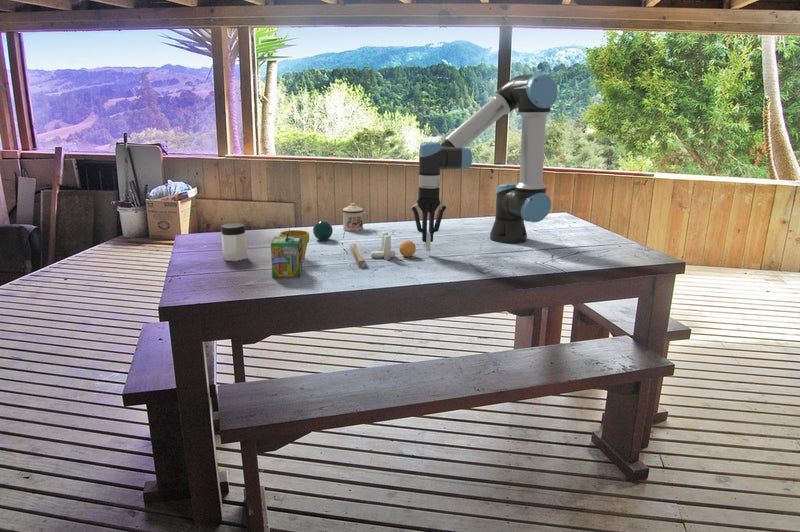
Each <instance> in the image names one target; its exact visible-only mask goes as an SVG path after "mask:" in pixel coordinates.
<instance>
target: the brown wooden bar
mask: <svg viewBox="0 0 800 532" xmlns="http://www.w3.org/2000/svg"><path fill="white" fill-rule="evenodd" d="M349 246H350V252H351V255H352V256H353V258H354V260H355V262H356V264H357V266H358V268H361V267H365V268H366V260H365V258H364V256H363V255H362V252H361V251H360V249H359V247H358V244H357V243H350V245H349ZM361 269H362V268H361Z"/></svg>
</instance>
